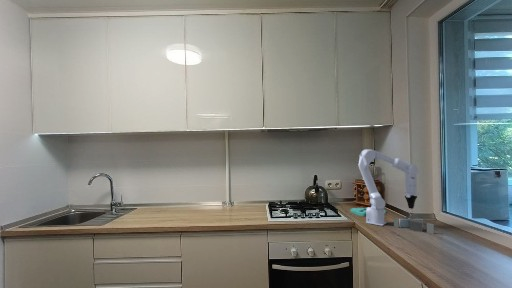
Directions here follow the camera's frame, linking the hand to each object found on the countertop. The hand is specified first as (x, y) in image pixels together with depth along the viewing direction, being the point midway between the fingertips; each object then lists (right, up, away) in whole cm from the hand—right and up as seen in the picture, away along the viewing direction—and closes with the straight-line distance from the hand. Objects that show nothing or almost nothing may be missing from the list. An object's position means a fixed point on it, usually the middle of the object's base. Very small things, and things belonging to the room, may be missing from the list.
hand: (411, 208), depth 157 cm
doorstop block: (-3, -9, -10) cm, 14 cm away
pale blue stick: (-3, -9, -6) cm, 11 cm away
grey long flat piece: (-5, -9, -10) cm, 14 cm away
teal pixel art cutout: (-14, -11, +28) cm, 33 cm away
